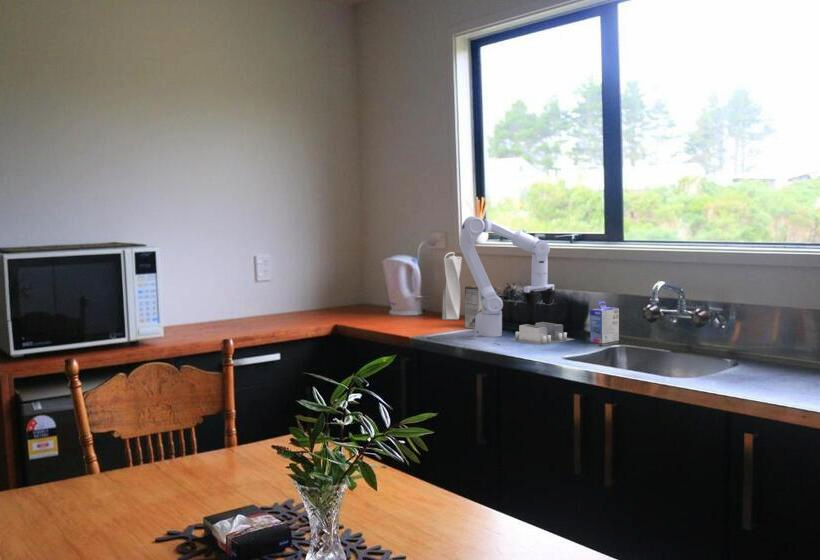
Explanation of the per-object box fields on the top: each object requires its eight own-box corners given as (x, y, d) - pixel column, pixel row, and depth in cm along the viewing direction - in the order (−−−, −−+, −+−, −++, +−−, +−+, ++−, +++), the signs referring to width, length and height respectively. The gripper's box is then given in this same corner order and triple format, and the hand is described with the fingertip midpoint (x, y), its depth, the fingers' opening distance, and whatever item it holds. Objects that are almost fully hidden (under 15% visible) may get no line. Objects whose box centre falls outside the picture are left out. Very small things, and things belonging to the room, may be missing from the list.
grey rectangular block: (519, 339, 274) (519, 325, 273) (526, 338, 276) (527, 324, 276) (539, 343, 267) (539, 328, 267) (546, 341, 270) (547, 327, 269)
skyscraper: (442, 317, 338) (442, 252, 335) (461, 317, 337) (462, 252, 335) (441, 320, 330) (441, 253, 327) (461, 320, 329) (461, 253, 326)
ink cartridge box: (606, 341, 277) (606, 299, 276) (619, 343, 273) (620, 301, 271) (588, 344, 271) (589, 302, 269) (602, 346, 266) (603, 303, 265)
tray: (507, 342, 275) (507, 332, 274) (541, 336, 286) (541, 327, 286) (541, 348, 263) (541, 337, 263) (575, 342, 275) (575, 332, 275)
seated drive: (535, 337, 279) (535, 322, 279) (542, 335, 282) (542, 321, 281) (555, 340, 273) (555, 325, 272) (562, 339, 275) (562, 324, 275)
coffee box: (476, 324, 315) (476, 284, 313) (490, 326, 311) (490, 285, 310) (464, 327, 308) (464, 286, 306) (478, 329, 304) (478, 287, 302)
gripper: (534, 275, 276) (534, 313, 277) (561, 272, 285) (560, 310, 287) (519, 274, 281) (519, 311, 283) (546, 271, 291) (545, 308, 292)
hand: (539, 311), depth 285 cm, fingers open, 7 cm apart
